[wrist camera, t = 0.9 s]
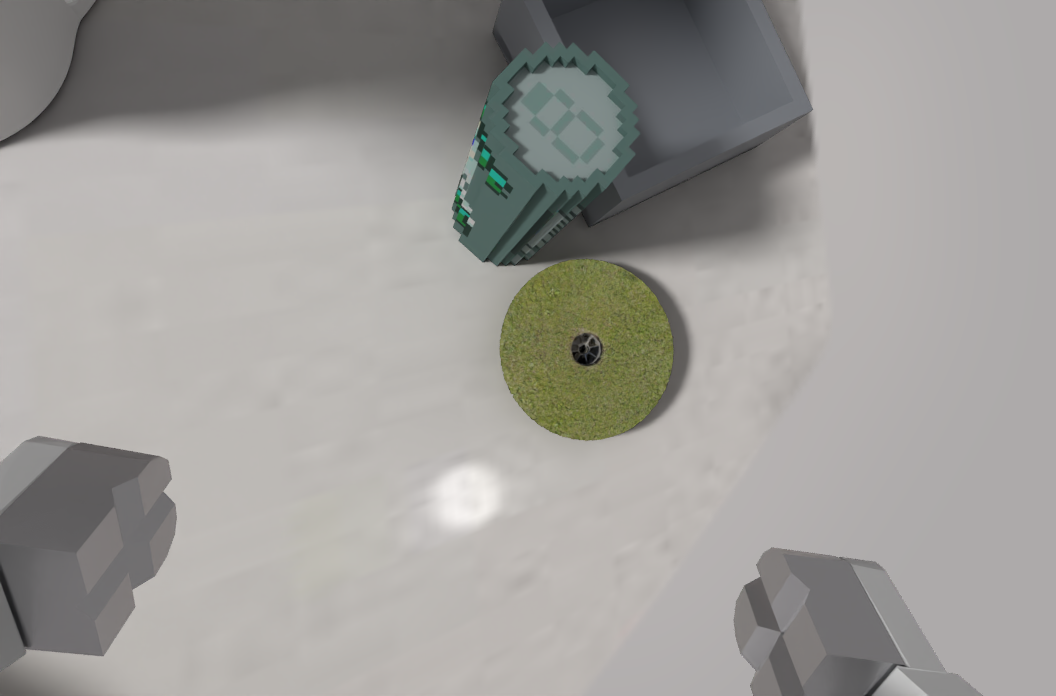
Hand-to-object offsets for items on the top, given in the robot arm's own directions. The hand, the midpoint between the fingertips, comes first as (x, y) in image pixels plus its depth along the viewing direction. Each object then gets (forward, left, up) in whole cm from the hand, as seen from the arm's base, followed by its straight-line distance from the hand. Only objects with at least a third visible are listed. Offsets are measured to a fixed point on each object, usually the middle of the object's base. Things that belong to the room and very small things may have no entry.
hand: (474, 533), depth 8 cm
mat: (+1, +11, -30) cm, 32 cm away
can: (-9, +11, -30) cm, 33 cm away
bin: (-13, +23, -30) cm, 39 cm away
